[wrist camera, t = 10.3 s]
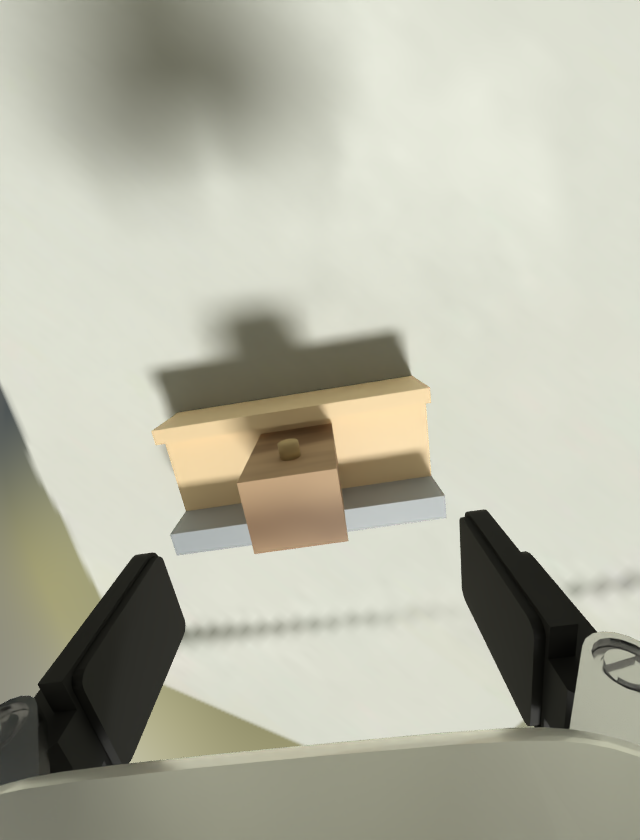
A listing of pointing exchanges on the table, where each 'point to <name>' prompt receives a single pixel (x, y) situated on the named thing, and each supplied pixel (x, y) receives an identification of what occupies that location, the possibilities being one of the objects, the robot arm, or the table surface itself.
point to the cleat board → (355, 446)
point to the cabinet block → (293, 490)
